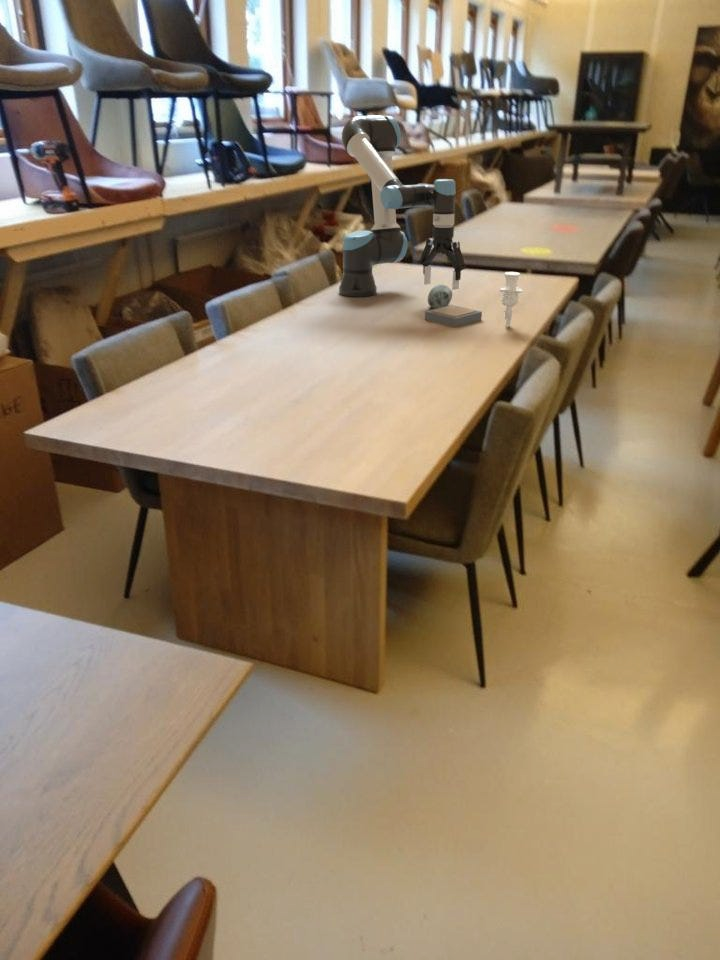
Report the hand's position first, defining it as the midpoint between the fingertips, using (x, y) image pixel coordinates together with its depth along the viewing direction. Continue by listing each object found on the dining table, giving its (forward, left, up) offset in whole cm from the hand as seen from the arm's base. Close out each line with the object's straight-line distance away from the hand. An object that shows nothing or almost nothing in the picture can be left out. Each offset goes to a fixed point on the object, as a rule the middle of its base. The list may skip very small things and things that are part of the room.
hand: (441, 286), depth 275 cm
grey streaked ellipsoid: (0, 0, -8) cm, 8 cm away
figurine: (+34, -4, -8) cm, 35 cm away
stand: (+15, -10, -8) cm, 19 cm away
